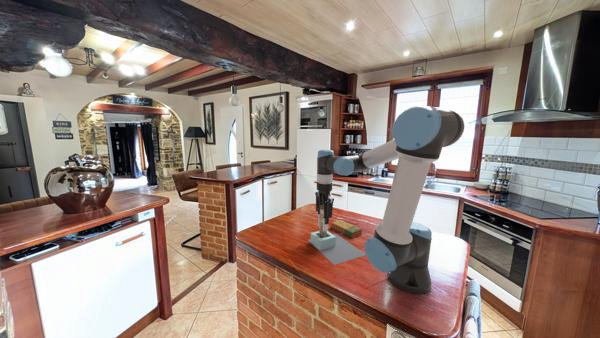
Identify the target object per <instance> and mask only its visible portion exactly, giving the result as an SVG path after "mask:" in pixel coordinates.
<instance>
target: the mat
mask: <svg viewBox="0 0 600 338" xmlns="http://www.w3.org/2000/svg"><path fill="white" fill-rule="evenodd" d="M332 234H333V235H334V236H335V237H336V246H335V247H331V248H328V249H324V250H319V249H318V248H316V247H315V246H314V245H313V244H312V243H311V238H310V239H307V241H308V242H309V243H310V244H311V245H312V246H313V247H314V248H315V249H316V250H317V251H318V252H320V254H322V255H323V256H324V257H325V258H326V259H327V260H328V261H329V262H330V263H331V264H332V265H333V266H337V265H338V264H342V263H345V262H348V261H351V260H352V261H353V260H355V259H358V258H362V257H365V256H366V254H365V252H363V251H362V250H360V249H359V248H358V247H355V245H353V244H352V243H350V242H349V241H348V240H346V239H344V238H343V237H342V236H341V235H339V234H338V233H336V232H335V233H332Z"/></svg>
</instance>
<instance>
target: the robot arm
mask: <svg viewBox="0 0 600 338" xmlns="http://www.w3.org/2000/svg"><path fill="white" fill-rule="evenodd" d="M464 131H465V122H464V119H463V116H462V115H461V114H460V113H459V112H457V111H456V110H454V109H451V108H447V107H446V108H445V107H435V106H429V105H418V106H417V105H416V106H412V107H409V108H407V109H405V110H404V111H403V112H401V113H400V114H399V115H398V116H397V117H396V119H395V120H394V123H393V125H392V129H391V135H392V138H393V139H392V140H389V141H388V142H385V143H383V144H381V145H379V146H376V147H373V148H372V149H369V150H367V151H365V152H363V153H360V154H358V155H357V154H356V155H348V156H346V155H345V156H338V155H335V154H334V150H332V149H320V150H319V149H318V151H317V156H316V160H317V161H316V162H317V163H316V190H317V191H315V192H314V193H315V194H314V195H315V211H316V212H317V215H318V217H317V218H318V220H317V221H318V224H317V226H318V227H319V228H320V205H323V206H324V217H323V230H327V231H329V224H330V222H329V221H330V218H331V219H332V217H333V208H334V202H335V198H334V197H332V195H331V192H332V191H333V183H332V182H333V178H334V177H333V176H334V175H333V174H337V175H339V176H344V177H345V176H347V177H348V176H349V175H351V174H352V173H359V172H367V171H371V170H372V169H373V168H376V167H378V166H381V165H384V164H386V163H390V162H393V161H396V160H397V162H396V163H397V165H396V168H395V172H394V175H393V179H392V183H391V187H390V191H389V195H388V199H387V203H386V205H385V210H384V215H383V218H382V221H381V222H380V223H378V224H377V225H376V226H375V230H374V233H373V236H370V237H369V238H368V239H366V240H365V242H364V244H363V245H364V254H366V255H365V256H366V258H367V260H368V261H369V263H370V265H371V266H372V267H373V268H374V269H375V270H376V271H379V272H381V273H385V274H386V273H387V278H388V280H389V282H390V283H391V284H393V286H395V287H396V288H397V289H400V290H401V291H404V292H406V293H409V294H414V295H422V294H423V295H424V294H427V293H429V292H430V291H431V290H432V283H433V282H432V278H431V274H430V270H429V261H430V253H431V245H432V239H433V238H432V230H431V229H430V228H429V227H428V226H426V225H424V224H422V223H419V222H416V221H414V218H415V215H416V211H417V209H418V206H419V203H420V199H421V196H422V193H423V189H424V186H425V182H426V180H427V177H428V174H429V171H430V167H431V164H432V163H434V162H436V161H438V160H439V159H440V155H441V152H442V150H443V148H447V147H450V146H451V145H453V144H456V143H457V141H459V140H460V138H461V137H462V136H463V134H464Z"/></svg>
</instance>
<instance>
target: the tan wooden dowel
mask: <svg viewBox="0 0 600 338" xmlns="http://www.w3.org/2000/svg"><path fill="white" fill-rule="evenodd" d="M323 217H324V206H323V205H320V227H319V230H318V231H319V236H320V237H321V238H325V237H326V235H327V231H328V230H323Z"/></svg>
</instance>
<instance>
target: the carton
mask: <svg viewBox="0 0 600 338" xmlns="http://www.w3.org/2000/svg"><path fill="white" fill-rule="evenodd" d="M330 229H333V230H335V231H337V232H339V233H341V234H343V235H345V236H347V237H349V238H351V239H354V238H356V237H358V236H361V235H362V233H363V229H362V228H361V227H359V226H357V225H356V226H355V225H353V224H351V223H348V222H346V221H344V220H343V219H342V220H341V219H338V220H336V221H333V222H331V223H330Z"/></svg>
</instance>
